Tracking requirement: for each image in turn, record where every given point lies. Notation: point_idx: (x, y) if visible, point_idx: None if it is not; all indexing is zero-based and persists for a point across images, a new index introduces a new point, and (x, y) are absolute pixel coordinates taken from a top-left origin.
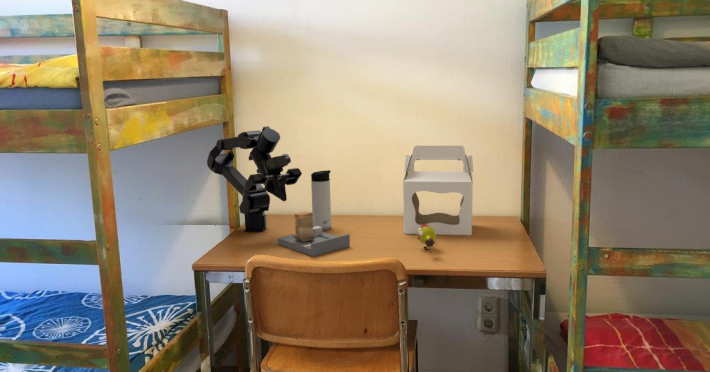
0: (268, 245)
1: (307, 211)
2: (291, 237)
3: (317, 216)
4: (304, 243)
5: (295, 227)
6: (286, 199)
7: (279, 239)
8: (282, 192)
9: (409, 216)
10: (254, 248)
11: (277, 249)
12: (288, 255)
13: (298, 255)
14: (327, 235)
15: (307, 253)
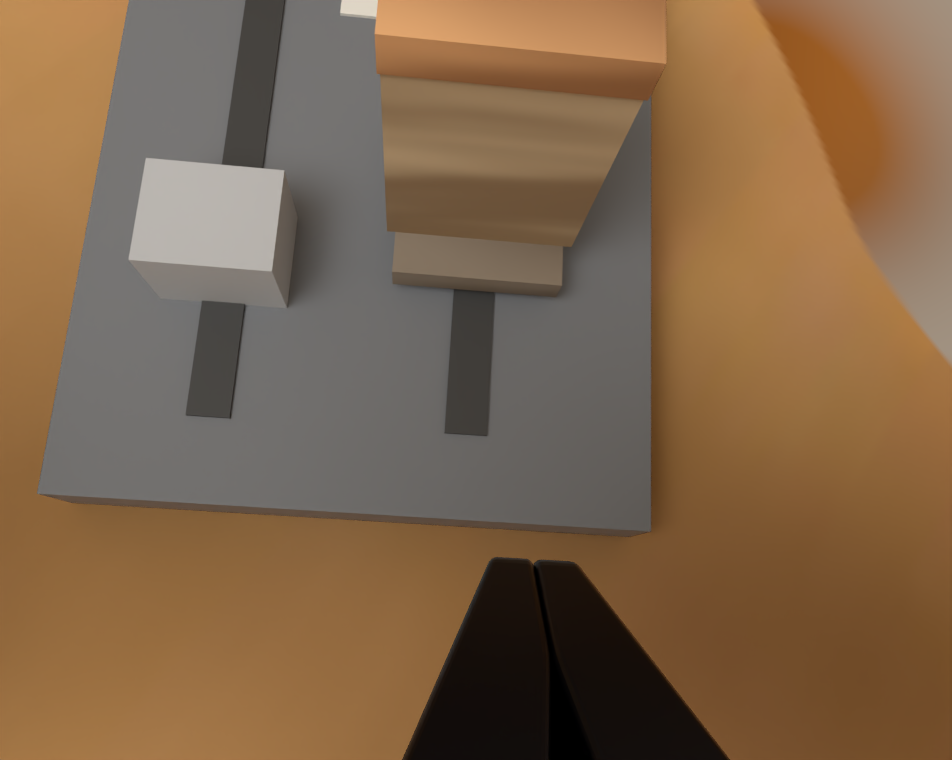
0: (735, 585)
1: (378, 5)
2: (515, 411)
3: None
4: None
5: (598, 189)
6: (498, 562)
7: (647, 493)
8: (604, 750)
9: None
10: (914, 610)
11: (744, 378)
12: (773, 142)
13: (704, 74)
14: (162, 139)
15: None
